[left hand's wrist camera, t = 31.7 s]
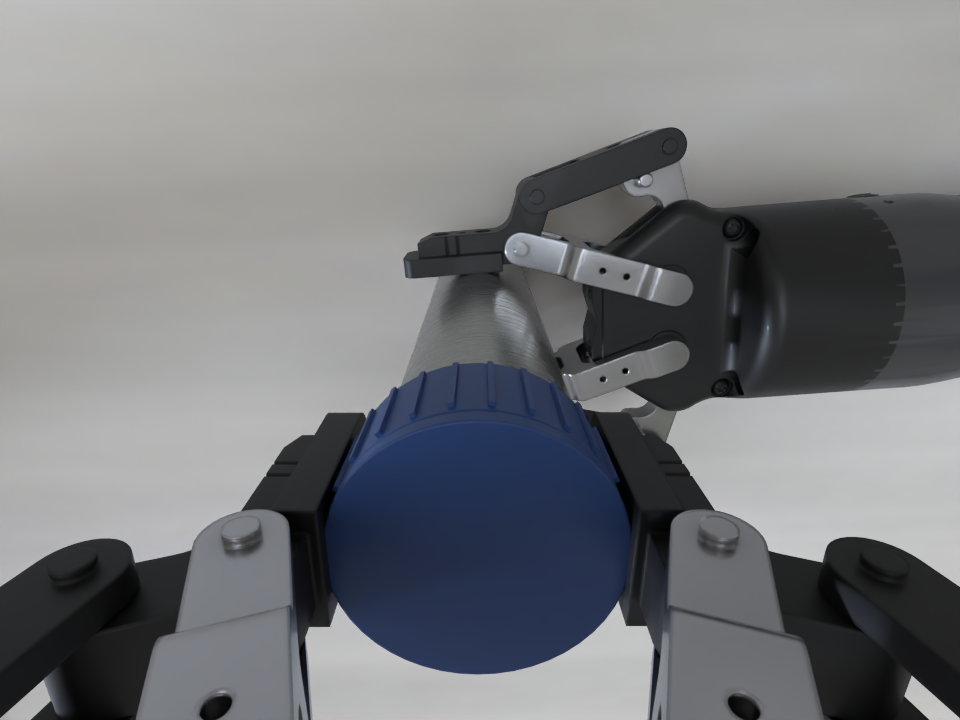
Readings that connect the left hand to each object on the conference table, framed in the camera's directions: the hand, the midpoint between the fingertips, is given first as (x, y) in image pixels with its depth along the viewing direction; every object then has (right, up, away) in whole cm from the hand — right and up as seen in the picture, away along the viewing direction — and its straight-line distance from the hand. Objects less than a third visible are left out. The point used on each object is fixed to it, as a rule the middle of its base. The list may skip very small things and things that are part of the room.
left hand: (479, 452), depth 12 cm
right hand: (-3, +3, +10) cm, 11 cm away
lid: (0, -1, -3) cm, 3 cm away
